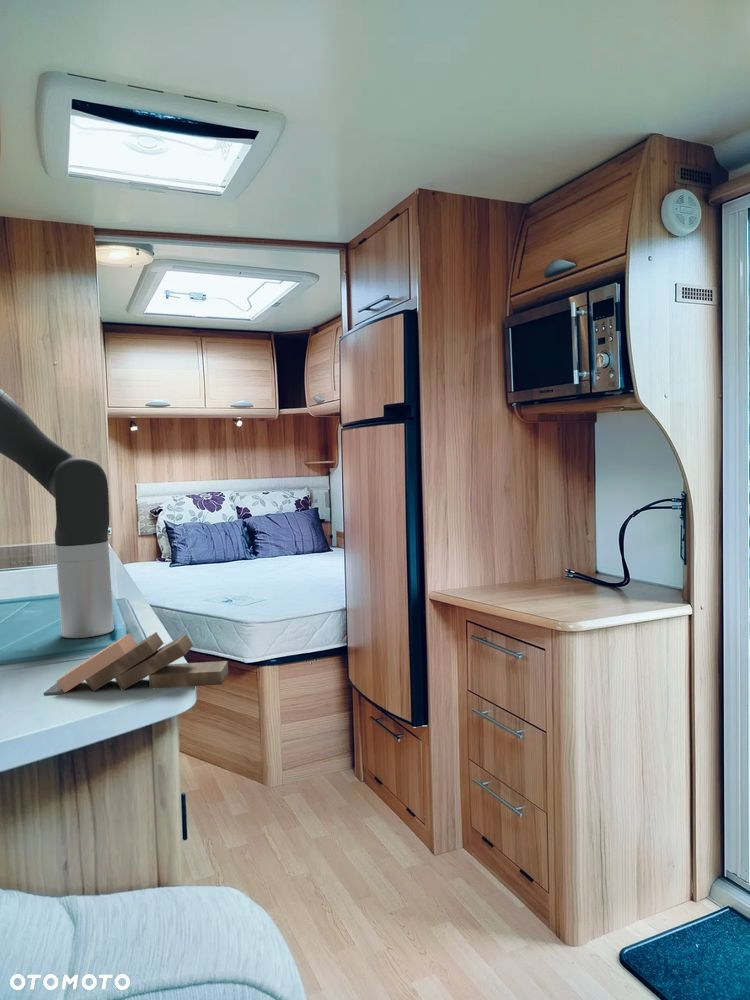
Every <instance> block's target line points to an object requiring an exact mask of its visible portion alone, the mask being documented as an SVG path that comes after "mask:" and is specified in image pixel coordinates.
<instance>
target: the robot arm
mask: <svg viewBox="0 0 750 1000" xmlns="http://www.w3.org/2000/svg"><path fill="white" fill-rule="evenodd" d="M0 454H1V455H3V456H5V457H6V458H8V459H9V460H11V461H12V462H14V463H16V464H17V465H19V467H20V468H22V469H23V470H24V471H25V472H27V474H29V475H30V476H31V477H32V478H33V479H35V481H36V482H38V483H39V484H40V485H41V486H42V487H43V488H44V489H45V490H46V491H47V492H48V493H49V494H50V495H51V496H52V497H53V498H54V501H55V514H56V515H55V516H56V517H55V518H56V521H55V530H54V542H55V543H54V545H55V556H56V557H55V559H56V570H57V571H56V572H57V584H58V587H57V588H58V600H59V614H60V616H59V617H60V629H61V631H60V632H61V636H62V638H67V639H83V638H90V637H97V636H101V635H105V634H109V633H111V632H113V631H114V630H115V625H114V623H115V622H114V610H113V609H114V606H113V593H112V592H113V591H112V578H111V563H110V562H111V561H110V551H109V550H110V548H109V528H110V501H109V500H110V498H109V497H110V495H109V485H108V484H109V483H108V479H107V478H108V477H107V475H106V472H105V470H104V469H103V467H102V466H100V464H99V463H97V462H96V461H95V460H92V459H89V458H87V457H85V458H84V457H77V456H75V455H74V454H72V453H70V452H69V451H67V450H66V449H64V448H63V447H62V446H60V445H59V444H58V443H56V442H55V441H54V440H52V439H51V438H50V437H48V436H47V435H46V434H45V433H44V432H43V431H42V430H41V429H40V428H39V427H38V425H37V424H36V423H35V422H34V421H33V420H32V418H31V417H30V416H29V415H28V413H26V411H24V409H23V408H22V407H21V406H20V405H19V403H17V402H16V401H15V400H14V399H13V398H12V397H11V396H10V395H9V394H8V393H6V392H5V391H4V390H3V389H2V388H0Z"/></svg>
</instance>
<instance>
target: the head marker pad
mask: <svg viewBox="0 0 750 1000" xmlns="http://www.w3.org/2000/svg"><path fill="white" fill-rule="evenodd" d="M64 694H65V693H64V691H63V690H62V688H61V687H60V685H59V684H58V682H57V681H56V683H54V684H53V685H52V686H50V687H49V688H48V689H47V690H45V691H44V692H43V696H49V695H64Z"/></svg>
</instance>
